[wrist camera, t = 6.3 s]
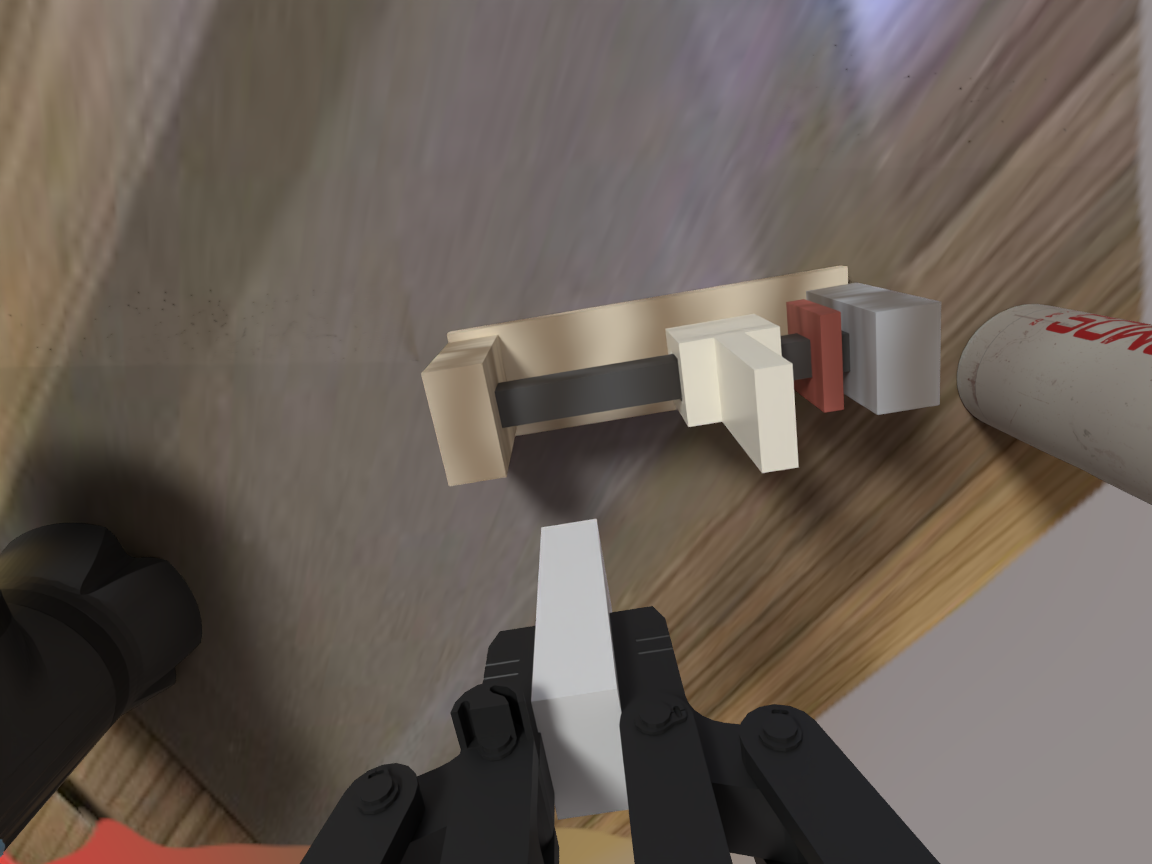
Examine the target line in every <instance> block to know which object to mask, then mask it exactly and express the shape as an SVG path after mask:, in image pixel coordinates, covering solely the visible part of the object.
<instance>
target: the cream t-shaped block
mask: <svg viewBox="0 0 1152 864" xmlns="http://www.w3.org/2000/svg"><path fill="white" fill-rule="evenodd" d="M665 331H666V339H667V347H668V354H674V355H675V356H676V358H677V359H678V366H679V375H680V384H681V392H682V399H677V400H674V404H675V406H676V407H677V409H678V411H679V412H680V414H681V416H682V417H683V419H684V421H685V422H686V424H687V426H688V427H692V426H699V425H705V424H711V423H717V422H723V423H724V425H725V426H726V427H727V429H728V430H729V431H730V432H731V434H732V435H733V436H734V438H735V439H736V440H737V441H738V443H739V444H740V445H741V447H742V448H743V449H744V450H745V452H746V453H747V454H748V456H749V457H750V458H751V459H752V461H753V462H754V463H755V465H756V466H757V467H758V468H759V470H760V471H761V472H762V473H766V472H772V471H779V470H785V469H791V468H798V467H799V466H798V449H797V432H796V415H795V398H794V381H793V364H792V363H791V362H789V361H788V360H786V359H785V358H783V357H782V353H781V338H780V327H779V326H777V325H775V324H774V323H772V322H770V321H768V320H766V319H764V318H762V317H760V316H758V315H756V314H750V315H744V316H738V317H732V318H726V319H720V320H714V321H708V322H703V323H697V324H691V325H685V326H679V327H673V328H667V329H665Z"/></svg>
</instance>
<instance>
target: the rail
mask: <svg viewBox="0 0 1152 864" xmlns="http://www.w3.org/2000/svg"><path fill="white" fill-rule="evenodd" d="M750 314H756V315H758V316H760V317H762V318H764V319H766V320H768V321H770V322H772V323H774V324H775V325H777V326H779V327H780V338H781V353H782V357H783V358H785V359H786V360H788V361H789V362H791V363H792V364H793V381H794V390H795V391H796V392H798V393H799V394H800V395H802V396H803V397H804V398H806V399H807V400H808V401H809V402H811V403H812V404H813V405H815V406H816V407H817V408H819V409H820V410H821V411H823V412H824V413H826V412H832V411H838V410H844V394H845V395H847V396H848V397H850V398H851V399H853V400H855V401H856V402H858V403H859V404H861V405H862V406H864V407H866V408H867V409H869V410H870V411H872V412H874V413H875V414H877V415H880V414H886V413H893V412H899V411H905V410H911V409H917V408H924V407H930V406H936V405H940V345H941V302H940V301H936V300H931V299H927V298H922V297H918V296H914V295H909V294H905V293H900V292H896V291H892V290H887V289H883V288H878V287H874V286H870V285H865V284H861V283H851V284H848V267H846V266H835V267H829V268H823V269H817V270H811V271H805V272H799V273H793V274H788V275H782V276H776V277H770V278H764V279H758V280H752V281H746V282H740V283H734V284H729V285H723V286H717V287H711V288H705V289H699V290H693V291H687V292H681V293H675V294H669V295H664V296H658V297H652V298H646V299H640V300H634V301H628V302H622V303H616V304H610V305H605V306H599V307H593V308H587V309H581V310H575V311H569V312H563V313H557V314H551V315H545V316H540V317H534V318H528V319H522V320H516V321H510V322H504V323H498V324H492V325H486V326H480V327H475V328H469V329H463V330H457V331H451V332H449V333H448V334H447V338H448V342H449V343H448V344H447V345H446V346H445V347H444V349H443V350H442V351H441V352H440V353H439V354H438V355H437V356H436V358H435V359H434V360H433V361H432V362H431V363H430V364H429V365H428V367H427V368H426V369H425V370H424V371H423V372H422V373H421V375H422V379H423V383H424V387H425V391H426V395H427V399H428V403H429V407H430V411H431V415H432V419H433V423H434V427H435V432H436V436H437V440H438V444H439V448H440V452H441V456H442V460H443V464H444V468H445V472H446V476H447V480H448V484H449V486H454V485H460V484H466V483H472V482H478V481H484V480H491V479H497V478H503V477H507V472H508V468H509V463H510V458H511V453H512V449H513V444H514V439H515V436H519V435H525V434H531V433H537V432H543V431H549V430H556V429H562V428H568V427H574V426H580V425H586V424H592V423H598V422H605V421H611V420H617V419H623V418H629V417H635V416H641V415H647V414H653V413H660V412H666V411H672V410H678V409H677V407H676V406H675V404H674V400H677V399H682V392H681V384H680V375H679V366H678V359H677V358H676V356H675V355H674V354H668V347H667V339H666V331H665V329H667V328H673V327H679V326H685V325H691V324H697V323H703V322H708V321H714V320H720V319H726V318H732V317H738V316H744V315H750Z"/></svg>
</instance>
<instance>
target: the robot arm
mask: <svg viewBox="0 0 1152 864" xmlns="http://www.w3.org/2000/svg"><path fill="white" fill-rule="evenodd" d="M201 637H202V624H201V617H200V612H199V609H198V606H197V603H196V600H195V598H194V596H193V594H192V592H191V590H190V588H189V587H188V585H187V583H186V582H185V580H184V579H183V578H182V576H181V575H180V574H179V573H178V572H177V570H176V569H175V568H174V567H173V566H172V565H171V564H170V563H169V562H168V561H167V560H163V559H159V558H152V557H142V558H134V557H131V556H129V555H127V554H126V553H125V551H124V550H123V548H122V546H121V544H120V543H119V541H118V540H117V538H116V537H115V536H114V535H113V534H112V533H111V532H110V531H109V530H108V529H107V528H106V527H102V526H97V525H91V524H83V523H60V524H52V525H47V526H43V527H39V528H36V529H33V530H31V531H28V532H26V533H24V534H22V535H20V536H19V537H17V538H16V539H14V540H13V541H11V542H10V543H9V544H8V545H7V546H6V548H5V549H4V550H3V551H2V552H1V554H0V857H1V856H2V855H3V852H4V851H5V850H6V849H7V847H8V846H9V845H10V844H11V843H12V842H13V840H14V839H15V838H16V837H17V836H18V835H19V833H20V832H21V831H22V830H23V829H24V828H25V826H26V825H27V824H28V823H29V822H30V821H31V819H32V818H33V817H34V816H35V815H36V814H37V812H38V811H39V810H40V809H41V808H42V807H43V805H44V804H45V803H46V802H47V801H48V800H49V798H50V797H51V796H52V795H53V794H54V793H55V791H56V790H57V789H58V788H59V787H60V786H61V784H62V783H63V782H64V781H65V780H66V779H67V777H68V776H69V775H70V774H71V773H72V772H73V770H74V769H75V768H76V767H77V766H78V764H79V763H80V762H81V761H82V760H83V759H84V757H85V756H86V755H87V754H88V753H89V752H90V750H91V749H92V748H93V747H94V746H95V745H96V743H97V742H98V741H99V740H100V739H101V738H102V736H103V735H104V734H105V733H106V732H107V731H108V729H109V728H110V727H111V726H112V725H113V724H114V723H115V722H116V720H117V719H118V718H119V717H120V716H121V715H123V714H125V713H127V712H128V711H130V710H132V709H133V708H135V707H137V706H138V705H140V704H142V703H143V702H145V701H147V700H149V699H150V698H152V697H154V696H155V695H157V694H159V693H160V692H162V691H164V690H165V689H167V688H169V687H170V686H172V685H174V684H175V679H176V672H175V666H176V665H177V664H178V663H180V662H181V661H182V660H183V659H184V658H185V657H186V656H187V655H188V654H190V653H191V652H192V651H193V650H194V649H195V648H196V647H197V646H198V645H199V644H200V643H201ZM451 716H452V720H453V724H454V727H455V731H456V734H457V738H458V741H459V745H460V748H461V752H460V754H459V755H458V756H457V757H455V758H454V759H453V760H451V761H450V762H448V763H446V764H444V765H443V766H441V767H439V768H436V769H434V770H432V771H429V772H427V773H424V774H422V775H420V776H416V773H415V772H414V771H413V770H412V769H411V768H410V767H409V766H406V765H402V764H398V763H394V764H386V765H381V766H379V767H376V768H374V769H371V770H369V771H367V772H366V773H364V774H363V775H362V776H360V777H359V778H358V779H356V780H355V781H354V782H353V783H352V784H351V786H350V787H349V788H348V789H347V790H346V791H345V793H344V794H343V796H342V797H341V799H340V801H339V802H338V804H337V805H336V807H335V809H334V810H333V812H332V813H331V815H330V817H329V818H328V820H327V821H326V823H325V825H324V826H323V828H322V829H321V831H320V832H319V834H318V836H317V837H316V839H315V840H314V842H313V844H312V845H311V847H310V848H309V850H308V852H307V853H306V855H305V857H304V858H303V860H302V861H301V863H300V864H559V845H558V840H557V836H556V831H555V827H554V803H555V808H556V812H557V817H558V819H565V818H572V817H579V816H586V815H593V814H600V813H606V812H613V811H620V810H627V809H629V817H630V826H631V835H632V844H633V853H634V862H635V864H732V860H731V856H730V853H736V854H742V855H747V856H752V857H754V859H755V862H756V864H940V863H939V862H938V861H937V860H936V858H935V857H934V856H933V855H932V854H931V853H930V852H929V850H928V849H927V848H926V847H925V846H924V845H923V843H922V842H921V841H920V840H919V839H918V838H917V837H916V835H915V834H914V833H913V832H912V831H911V830H910V829H909V827H908V826H907V825H906V824H905V823H904V822H903V821H902V819H901V818H900V817H899V816H898V815H897V814H896V813H895V811H894V810H893V809H892V808H891V807H890V806H889V805H888V803H887V802H886V801H885V800H884V799H883V798H882V797H881V796H880V794H879V793H878V792H877V791H876V790H875V788H874V787H873V786H872V785H871V784H870V783H869V782H868V781H867V779H866V778H865V777H864V776H863V775H862V774H861V772H860V771H859V770H858V769H857V768H856V767H855V766H854V764H853V763H852V762H851V761H850V760H849V759H848V758H847V757H846V755H845V754H844V753H843V752H842V751H841V750H840V748H839V747H838V746H837V745H836V744H835V743H834V742H833V740H832V739H831V738H830V737H829V736H828V735H827V734H826V733H825V731H824V730H823V729H822V728H821V727H820V726H819V724H818V723H817V722H816V721H815V720H814V719H813V718H811V717H810V716H809V715H808V714H806V713H805V712H804V711H801V710H798V709H796V708H793V707H791V706H785V705H775V704H773V705H768V706H762V707H759V708H757V709H755V710H753V711H752V712H750V713H748V714H747V715H746V717H745V718H744V720H743V721H742V722H741V725H739V724H730V723H723V722H718V721H713V720H711V719H709V718H706V717H704V716H702V715H701V714H699V713H698V712H696V711H695V710H694V709H693V708H692V707H691V705H690V704H689V703H688V701H687V698H686V696H685V693H684V689H683V685H682V681H681V677H680V674H679V670H678V666H677V662H676V658H675V654H674V651H673V647H672V643H671V639H670V636H669V631H668V628H667V624H666V620H665V618H664V617H663V616H662V615H661V614H660V613H659V612H658V611H657V610H656V609H655V608H654V607H653V606H651V607H644V608H638V609H631V610H625V611H618V612H612V607H611V601H610V595H609V589H608V583H607V577H606V571H605V565H604V559H603V554H602V548H601V542H600V536H599V530H598V524H597V519H592V520H585V521H579V522H573V523H567V524H560V525H554V526H548V527H541V544H540V561H539V578H538V595H537V612H536V626H532V627H525V628H519V629H512V630H506V631H500V632H499V633H498V635H497V636H496V638H495V639H494V640H493V642H492V643H491V645H490V646H489V648H488V654H487V660H486V667H485V672H484V680H483V684H480V685H477V686H475V687H474V688H472V689H470V690H468V691H467V692H465V693H464V694H463V695H462V696H461V697H460V698H459V699H458V700H457V701H456V702H455V704H454V706H453V709H452V711H451Z"/></svg>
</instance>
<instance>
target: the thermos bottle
mask: <svg viewBox="0 0 1152 864" xmlns="http://www.w3.org/2000/svg"><path fill="white" fill-rule="evenodd" d="M957 387H958V391H959V395H960V398H961V400H962V402H963V403H964V405H965V407H966V408H967V409H968V411H969V412H970V413H971V414H972V415H973V416H975V417H976V418H978V419H979V420H981V421H982V422H984V423H986V424H988V425H990V426H992V427H994V428H996V429H998V430H1000V431H1002V432H1004V433H1006V434H1009V435H1011V436H1013V437H1015V438H1017V439H1019V440H1021V441H1023V442H1025V443H1027V444H1029V445H1031V446H1033V447H1035V448H1037V449H1039V450H1041V451H1043V452H1045V453H1047V454H1050V455H1052V456H1054V457H1056V458H1058V459H1061V460H1063V461H1065V462H1067V463H1070V464H1072V465H1074V466H1076V467H1078V468H1080V469H1082V470H1084V471H1086V472H1088V473H1090V474H1092V475H1093V476H1095V477H1097V478H1099V479H1101V480H1103V481H1105V482H1107V483H1109V484H1111V485H1113V486H1115V487H1117V488H1119V489H1121V490H1123V491H1125V492H1127V493H1129V494H1131V495H1133V496H1135V497H1137V498H1139V499H1141V500H1143V501H1145V502H1147V503H1149V504H1151V505H1152V325H1150V324H1145V323H1140V322H1134V321H1129V320H1124V319H1118V318H1113V317H1107V316H1102V315H1097V314H1091V313H1086V312H1081V311H1075V310H1070V309H1064V308H1059V307H1054V306H1048V305H1042V304H1025V305H1021V306H1017V307H1013V308H1010V309H1008V310H1006V311H1003V312H1001V313H999V314H997V315H996V316H994V317H993V318H991V319H990V320H988V321H987V322H986V323H985V324H984V325H982V326H981V327H980V328H979V329H978V330H977V331H976V333H975V334H974V335H973V336H972V337H971V339H970V340H969V342H968V343H967V345H966V347H965V349H964V351H963V353H962V356H961V358H960V361H959V365H958V371H957Z"/></svg>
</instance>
